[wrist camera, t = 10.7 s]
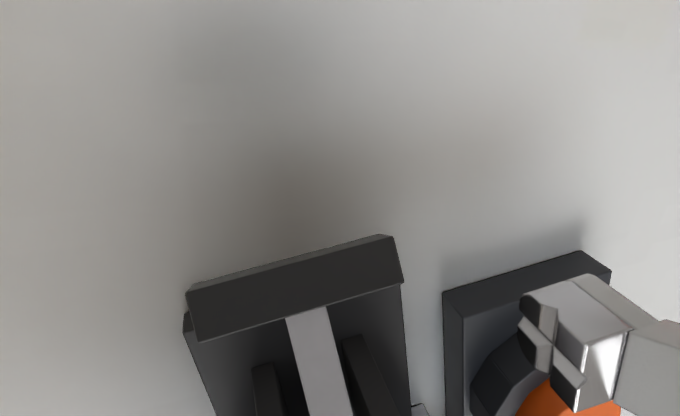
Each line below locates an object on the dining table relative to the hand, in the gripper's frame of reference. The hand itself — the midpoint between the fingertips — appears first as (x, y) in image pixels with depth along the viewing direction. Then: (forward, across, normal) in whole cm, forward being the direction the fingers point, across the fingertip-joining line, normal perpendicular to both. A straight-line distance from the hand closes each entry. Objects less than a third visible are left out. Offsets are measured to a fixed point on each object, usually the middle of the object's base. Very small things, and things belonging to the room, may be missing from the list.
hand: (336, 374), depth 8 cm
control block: (+9, -11, +13) cm, 19 cm away
